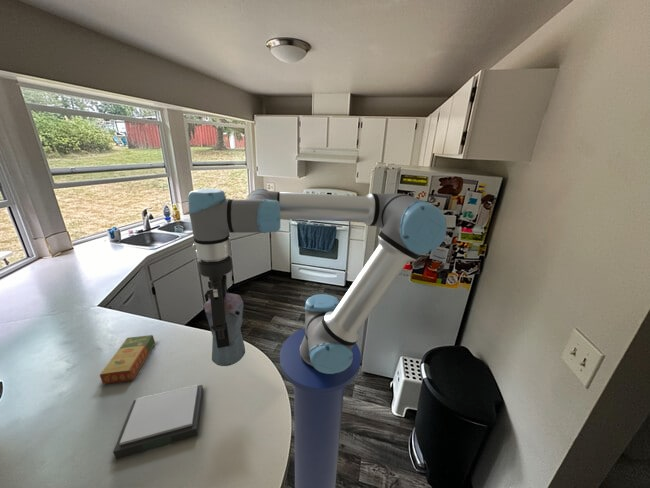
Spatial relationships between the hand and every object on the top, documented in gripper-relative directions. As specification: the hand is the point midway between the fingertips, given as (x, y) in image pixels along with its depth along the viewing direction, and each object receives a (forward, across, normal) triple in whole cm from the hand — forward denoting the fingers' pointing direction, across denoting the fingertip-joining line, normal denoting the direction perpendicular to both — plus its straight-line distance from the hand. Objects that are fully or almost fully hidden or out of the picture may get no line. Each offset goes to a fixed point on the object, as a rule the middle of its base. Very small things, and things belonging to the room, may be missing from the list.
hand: (224, 331), depth 67 cm
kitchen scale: (+21, +4, -16) cm, 27 cm away
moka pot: (+8, 0, 0) cm, 8 cm away
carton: (+22, -20, -32) cm, 43 cm away
